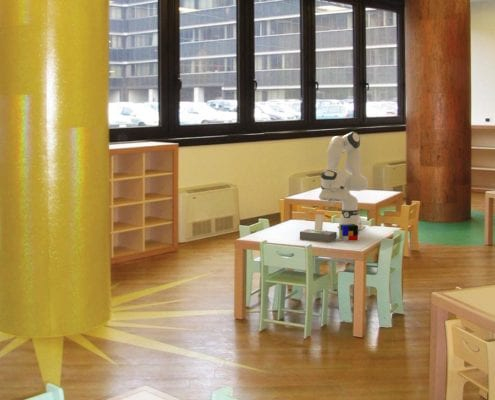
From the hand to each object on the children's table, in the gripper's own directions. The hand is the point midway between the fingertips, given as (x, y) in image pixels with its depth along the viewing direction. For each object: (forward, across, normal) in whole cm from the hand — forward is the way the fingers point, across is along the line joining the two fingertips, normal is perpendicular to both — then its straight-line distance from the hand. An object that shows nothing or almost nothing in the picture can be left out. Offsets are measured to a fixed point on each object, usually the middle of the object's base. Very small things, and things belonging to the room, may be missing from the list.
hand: (329, 204), depth 580 cm
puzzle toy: (+21, +18, +10) cm, 29 cm away
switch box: (+28, 0, +2) cm, 28 cm away
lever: (+24, 0, -1) cm, 24 cm away
